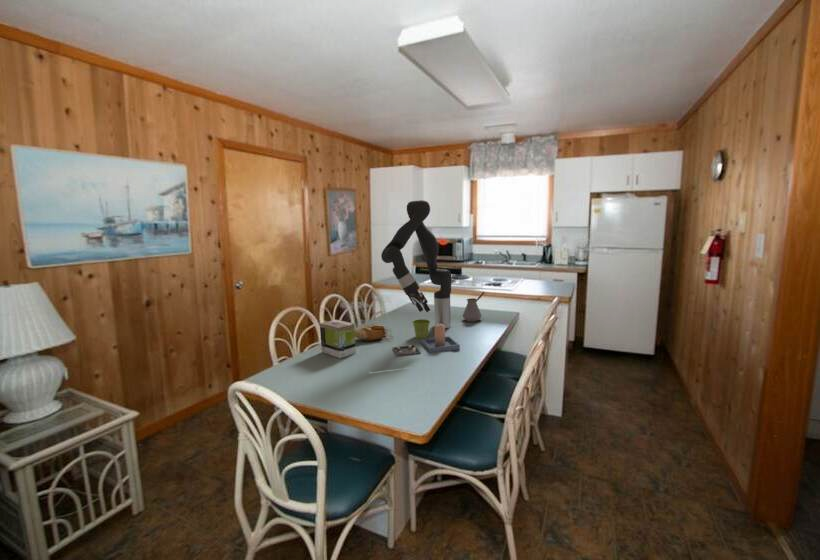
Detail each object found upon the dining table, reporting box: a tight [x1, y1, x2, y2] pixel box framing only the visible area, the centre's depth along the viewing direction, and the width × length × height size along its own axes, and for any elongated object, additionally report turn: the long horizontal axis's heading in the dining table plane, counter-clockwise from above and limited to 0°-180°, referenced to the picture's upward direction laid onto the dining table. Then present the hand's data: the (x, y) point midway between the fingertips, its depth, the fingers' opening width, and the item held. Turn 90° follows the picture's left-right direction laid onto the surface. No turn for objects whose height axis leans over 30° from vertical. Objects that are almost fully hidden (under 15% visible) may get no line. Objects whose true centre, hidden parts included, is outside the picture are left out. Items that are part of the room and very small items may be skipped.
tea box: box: [319, 319, 357, 359], centre depth 188 cm, size 15×10×15 cm, turn 47°
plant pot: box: [412, 318, 431, 339], centre depth 208 cm, size 9×9×9 cm
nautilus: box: [355, 323, 394, 342], centre depth 207 cm, size 8×22×15 cm
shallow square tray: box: [421, 335, 461, 353], centre depth 193 cm, size 15×15×2 cm
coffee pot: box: [462, 291, 487, 323], centre depth 242 cm, size 21×12×15 cm, turn 141°
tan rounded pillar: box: [434, 324, 446, 347], centre depth 192 cm, size 5×5×11 cm
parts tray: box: [392, 344, 421, 357], centre depth 187 cm, size 11×11×2 cm
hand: (425, 311), depth 196 cm, fingers open, 8 cm apart
